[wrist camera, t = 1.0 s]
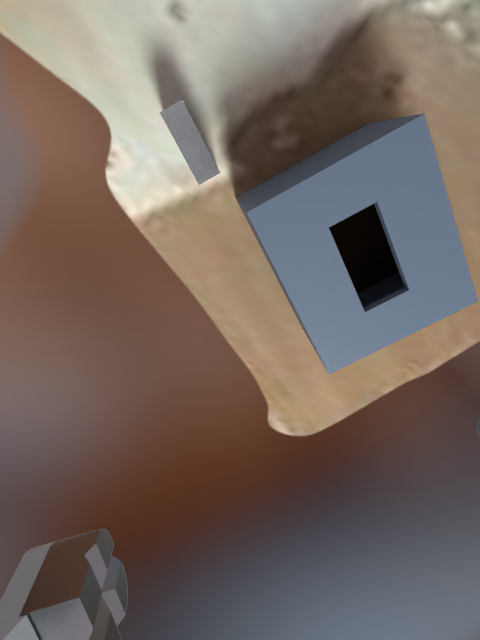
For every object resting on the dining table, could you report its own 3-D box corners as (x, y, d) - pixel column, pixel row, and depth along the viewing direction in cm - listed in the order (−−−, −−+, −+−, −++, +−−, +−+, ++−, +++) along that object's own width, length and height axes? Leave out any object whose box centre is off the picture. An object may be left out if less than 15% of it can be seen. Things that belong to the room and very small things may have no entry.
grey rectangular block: (165, 117, 35) (159, 112, 30) (184, 105, 35) (182, 99, 30) (199, 180, 37) (199, 184, 33) (217, 169, 37) (220, 172, 33)
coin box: (235, 197, 38) (246, 212, 29) (368, 123, 37) (424, 113, 27) (302, 328, 44) (329, 374, 35) (418, 269, 43) (477, 301, 34)
